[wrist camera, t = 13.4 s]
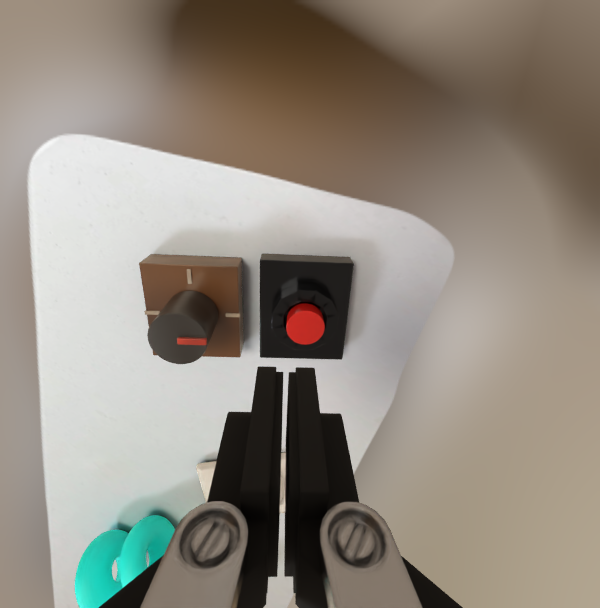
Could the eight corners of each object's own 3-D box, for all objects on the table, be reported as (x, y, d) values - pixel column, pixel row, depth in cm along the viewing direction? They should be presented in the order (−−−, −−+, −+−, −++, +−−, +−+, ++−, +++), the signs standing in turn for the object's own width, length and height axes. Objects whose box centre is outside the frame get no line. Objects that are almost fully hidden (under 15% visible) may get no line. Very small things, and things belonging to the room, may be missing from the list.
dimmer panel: (149, 253, 34) (136, 263, 31) (242, 257, 34) (238, 267, 31) (162, 340, 38) (151, 356, 35) (244, 342, 38) (241, 358, 35)
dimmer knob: (169, 335, 34) (149, 365, 29) (164, 289, 32) (142, 313, 27) (219, 336, 34) (208, 367, 29) (217, 291, 32) (205, 316, 27)
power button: (287, 302, 32) (286, 310, 31) (324, 303, 32) (326, 311, 31) (285, 335, 34) (285, 344, 32) (321, 336, 34) (323, 345, 32)
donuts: (191, 536, 52) (170, 617, 43) (137, 554, 54) (107, 636, 45) (153, 497, 48) (121, 578, 39) (96, 518, 50) (53, 601, 41)
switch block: (261, 253, 34) (258, 265, 30) (350, 256, 34) (357, 269, 31) (261, 346, 38) (258, 367, 35) (339, 348, 39) (344, 369, 35)
